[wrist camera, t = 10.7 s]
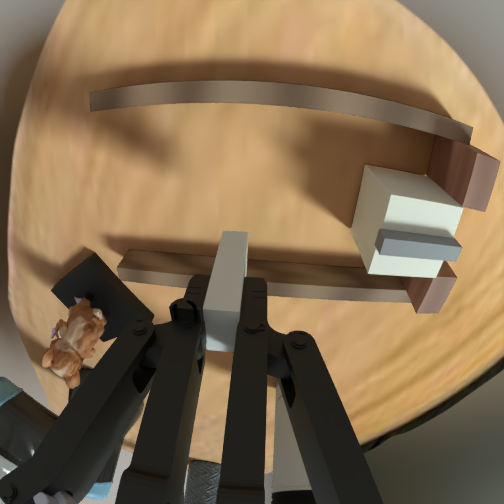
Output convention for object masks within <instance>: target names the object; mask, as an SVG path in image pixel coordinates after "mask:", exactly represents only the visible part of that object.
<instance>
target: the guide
mask: <svg viewBox="0 0 504 504" xmlns="http://www.w3.org/2000/svg"><path fill="white" fill-rule="evenodd" d="M176 103H244V104H263V105H277V106H288V107H298V108H307V109H315V110H323V111H330V112H336V113H343V114H349V115H354V116H360V117H365V118H370V119H375V120H380V121H385V122H389V123H393V124H398V125H402V126H406V127H410V128H414V129H417V130H421V131H425V132H428V133H432V134H435V135H436V137H435V142H434V147H433V152H432V156H431V160H430V165H429V169H428V173H427V176H428V177H429V178H430V179H431V180H433V181H434V182H435V183H436V184H437V185H438V186H440V187H441V188H442V189H443V190H444V191H445V192H447V193H448V194H449V195H450V196H451V197H452V198H453V199H454V200H455V201H457V202H458V203H459V204H460V205H461V206H462V207H466V208H470V209H475V210H479V211H483V212H485V211H486V208H487V205H488V202H489V199H490V196H491V193H492V190H493V186H494V183H495V180H496V176H497V173H498V169H499V165H500V161H499V160H497V159H495V158H494V157H492V156H490V155H488V154H487V153H485V152H483V151H481V150H480V149H478V148H476V147H474V146H472V145H470V140H471V135H472V130H473V127H471V126H469V125H466V124H464V123H461V122H459V121H456V120H453V119H451V118H448V117H445V116H442V115H439V114H436V113H433V112H430V111H426V110H423V109H420V108H416V107H413V106H409V105H406V104H402V103H398V102H394V101H390V100H386V99H382V98H377V97H373V96H368V95H363V94H358V93H353V92H348V91H342V90H336V89H330V88H323V87H316V86H308V85H300V84H290V83H279V82H265V81H244V80H196V81H175V82H161V83H150V84H141V85H132V86H125V87H118V88H111V89H105V90H100V91H95V92H91V93H90V110H91V112H93V111H100V110H107V109H115V108H124V107H133V106H144V105H158V104H176ZM215 259H216V257H211V256H199V255H187V254H175V253H164V252H152V251H140V250H128V252H127V253H126V255H125V256H124V258H123V259H122V260H121V262H120V263H119V265H118V266H117V271H118V274H119V278H120V280H122V281H130V282H137V283H146V284H154V285H163V286H171V287H180V288H187V286H188V283H189V280H190V279H191V278H192V277H193V276H194V275H195V274H204V275H211V274H212V270H213V266H214V262H215ZM246 277H257V278H264V280H265V281H266V283H267V296H280V297H295V298H311V299H328V300H348V301H371V302H403V303H412V305H413V307H414V309H415V312H416V313H439V311H440V310H441V308H442V306H443V304H444V302H445V301H446V299H447V297H448V295H449V293H450V291H451V289H452V287H453V285H454V283H455V281H456V279H457V276H456V275H455V273H454V272H453V270H452V269H451V267H450V266H449V265H448V263H447V262H446V261H443V263H442V265H441V267H440V270H439V272H438V274H437V276H436V278H427V277H410V276H394V275H379V274H368V273H367V270H366V268H353V267H339V266H326V265H312V264H299V263H286V262H273V261H261V260H248V259H247V272H246Z"/></svg>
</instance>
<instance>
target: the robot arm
mask: <svg viewBox="0 0 504 504" xmlns="http://www.w3.org/2000/svg"><path fill="white" fill-rule="evenodd" d="M247 252H248V232H236V231H223V232H222V236H221V240H220V243H219V247H218V251H217V255H216V259H215V262H214V266H213V270H212V274H211V275H204V274H195V275H194V276H193V277H192V278H191V279H190V280H189V283H188V286H187V289H186V293H185V295H184V298H181V299H178V300H175V301H174V302H173V303H171V305H170V307H169V309H170V314H171V319H172V321H170V322H168V323H164V324H157V325H153V323H152V322H151V321H150V320H148V319H145V318H139V319H135V320H133V321H131V322H130V323H129V324H128V325H127V326H126V327H125V328H124V330H123V331H122V332H121V333H120V335H119V336H118V337H117V339H116V340H115V341H114V342H113V344H112V345H111V346H110V348H109V349H108V350H107V351H106V353H105V354H104V355H103V357H102V358H101V359H100V361H99V362H98V363H97V365H96V366H95V367H94V369H93V370H88V369H80V370H79V375H80V383H79V385H78V386H76V387H74V388H73V389H71V388H69V399H68V404H67V406H66V407H65V408H64V410H63V411H62V413H61V414H60V416H58V415H56V414H55V413H53V412H52V411H50V410H48V409H47V408H46V407H44V406H43V405H42V404H40V403H39V402H37V401H36V400H35V399H33V398H32V397H31V396H29V395H28V394H27V393H25V392H24V391H23V389H22V388H19V387H17V386H16V385H15V384H14V383H12V382H11V381H10V380H8V379H7V378H5V377H0V504H78V503H79V502H80V501H82V499H83V498H84V497H87V498H91V499H96V500H102V499H105V498H106V497H107V495H108V493H109V490H110V487H111V485H112V483H113V477H114V473H115V469H116V466H117V461H118V458H119V454H120V451H121V447H122V444H123V440H124V437H125V435H126V434H127V433H128V431H129V430H130V429H131V427H132V426H133V425H134V424H135V422H136V421H137V420H138V418H139V417H140V415H141V413H142V410H143V406H144V403H143V400H144V399H145V397H146V395H147V394H148V392H149V390H150V393H149V396H148V400H147V403H146V407H145V411H144V414H143V418H142V422H141V425H140V429H139V433H138V437H137V441H136V445H135V449H134V453H133V457H132V461H131V464H130V466H129V467H128V468H127V469H126V470H124V472H123V474H122V476H121V480H120V484H119V488H118V492H117V497H116V501H115V504H184V483H185V476H186V470H187V463H188V457H189V451H190V444H191V438H192V432H193V426H194V420H195V414H196V409H197V403H198V397H199V391H200V386H201V380H202V375H203V369H204V364H205V348H206V347H207V350H214V351H225V352H234V355H233V364H232V373H231V381H230V390H229V399H228V408H227V417H226V426H225V435H224V444H223V453H222V462H221V471H220V480H219V485H218V489H217V496H216V504H265V490H264V469H265V440H266V404H267V374H268V375H271V376H274V377H277V380H278V383H279V386H280V390H281V393H282V396H283V399H284V403H285V406H286V409H287V412H288V416H289V419H290V422H291V425H292V429H293V432H294V435H295V438H296V441H297V445H298V448H299V451H300V454H301V457H302V461H303V464H304V467H305V470H306V473H307V476H308V479H309V483H310V486H311V489H312V492H313V495H314V498H315V501H316V504H383V501H382V499H381V496H380V494H379V491H378V489H377V486H376V484H375V481H374V479H373V476H372V474H371V471H370V469H369V466H368V464H367V462H366V459H365V457H364V454H363V452H362V449H361V447H360V445H359V442H358V440H357V437H356V435H355V433H354V430H353V428H352V425H351V423H350V421H349V418H348V416H347V414H346V411H345V409H344V407H343V404H342V402H341V399H340V397H339V395H338V392H337V390H336V388H335V386H334V383H333V381H332V379H331V376H330V374H329V372H328V369H327V367H326V365H325V363H324V360H323V358H322V356H321V353H320V351H319V349H318V347H317V344H316V342H315V340H314V338H313V337H312V336H311V335H310V334H308V333H307V332H304V331H292V332H289V333H288V334H287V335H285V334H282V333H279V332H277V331H275V330H273V329H272V328H271V327H270V326H269V324H268V321H267V283H266V281H265V280H264V278H257V277H246V272H247Z"/></svg>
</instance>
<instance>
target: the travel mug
mask: <svg viewBox="0 0 504 504" xmlns="http://www.w3.org/2000/svg"><path fill="white" fill-rule="evenodd" d="M272 488H273V490H272V499H273V500H272V502H271V504H316V501H315V498H314V495H313V492H312V489H311V486H310V483H309V479H308V476H307V473H306V470H305V467H304V464H303V461H302V457H301V454H300V451H299V448H298V445H297V441H296V438H295V435H294V432H293V429H292V425H291V422H290V419H289V416H288V412H287V409H286V406H285V403H284V399H283V396H282V393H281V390H280V386H279V383H278V381H277V382H276V404H275V432H274V455H273V476H272Z"/></svg>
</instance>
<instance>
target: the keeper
mask: <svg viewBox="0 0 504 504" xmlns="http://www.w3.org/2000/svg"><path fill="white" fill-rule="evenodd" d="M463 209H464V208H463V207H462V206H461V205H460V204H459V203H458V202H457V201H455V200H454V199H453V198H452V197H451V196H450V195H449V194H448V193H447V192H445V191H444V190H443V189H442V188H441V187H440V186H438V185H437V184H436V183H435V182H434V181H433V180H431V179H430V178H429V177H428V176H423V175H418V174H414V173H409V172H404V171H399V170H393V169H388V168H382V167H377V166H371V165H365V166H364V172H363V177H362V182H361V187H360V192H359V196H358V201H357V206H356V210H355V215H354V219H353V223H352V227H351V233H352V235H353V237H354V240H355V242H356V245H357V247H358V250H359V252H360V255H361V257H362V260H363V262H364V265H365V268H366V270H367V273H368V274H379V275H394V276H410V277H427V278H436V276H437V274H438V272H439V270H440V267H441V265H442V263H443V261H452V262H456V261H457V259H458V256H459V254H460V252H461V249H462V247H461V245H460V244H459V243H458V242H457V240H456V239H455V238H453V236H454V234H455V231H456V228H457V226H458V223H459V220H460V217H461V214H462V211H463Z"/></svg>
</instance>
